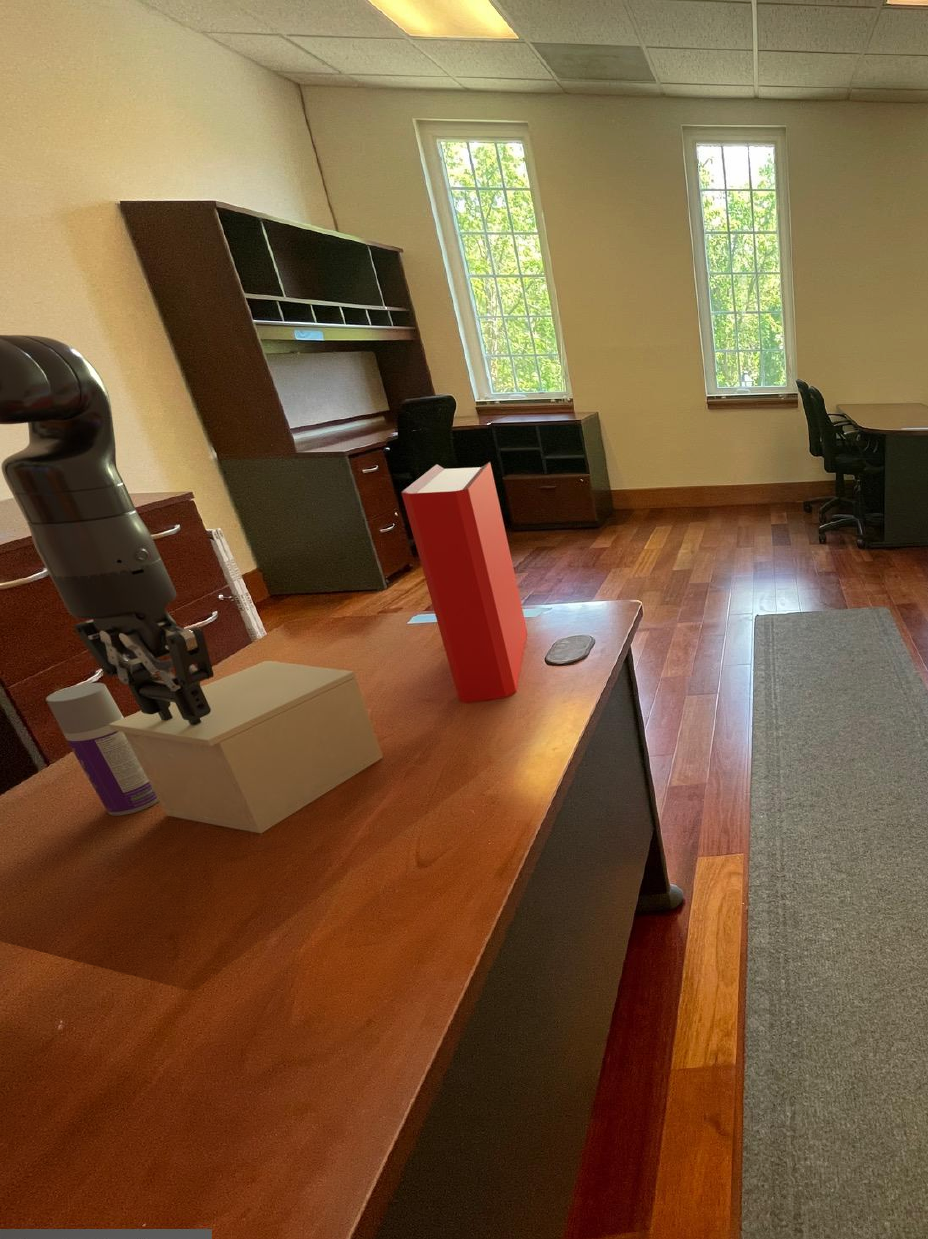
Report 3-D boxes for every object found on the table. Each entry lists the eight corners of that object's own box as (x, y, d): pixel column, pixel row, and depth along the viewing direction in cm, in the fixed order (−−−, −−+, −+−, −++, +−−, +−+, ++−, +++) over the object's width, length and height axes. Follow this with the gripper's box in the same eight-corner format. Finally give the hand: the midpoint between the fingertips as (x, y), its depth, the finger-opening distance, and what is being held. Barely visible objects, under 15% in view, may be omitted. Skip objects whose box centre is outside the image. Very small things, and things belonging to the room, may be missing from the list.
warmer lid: (210, 746, 69) (189, 700, 66) (110, 730, 71) (87, 685, 69) (356, 677, 83) (342, 637, 81) (268, 665, 86) (253, 627, 84)
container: (97, 812, 77) (32, 699, 71) (145, 788, 81) (87, 680, 75) (126, 818, 76) (63, 704, 70) (173, 794, 80) (118, 684, 74)
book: (480, 638, 125) (436, 464, 112) (527, 632, 127) (490, 461, 114) (457, 704, 101) (398, 494, 88) (515, 695, 104) (466, 490, 91)
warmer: (260, 833, 74) (219, 743, 69) (166, 815, 77) (120, 727, 72) (383, 757, 88) (356, 677, 83) (300, 744, 91) (268, 666, 86)
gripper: (-1, 567, 62) (84, 723, 69) (112, 579, 60) (190, 740, 67) (98, 546, 69) (167, 691, 76) (205, 556, 66) (267, 705, 73)
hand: (178, 713), depth 71 cm, fingers closed on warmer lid, 5 cm apart
